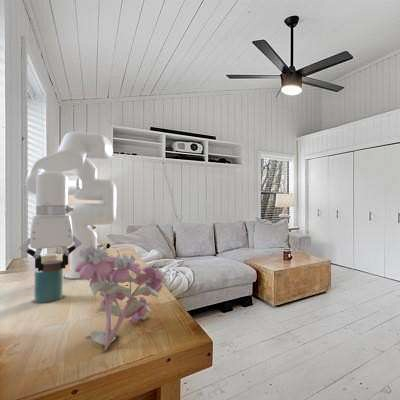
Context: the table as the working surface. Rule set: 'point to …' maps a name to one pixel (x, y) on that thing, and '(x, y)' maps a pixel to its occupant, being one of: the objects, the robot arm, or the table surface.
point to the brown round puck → (51, 266)
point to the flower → (117, 287)
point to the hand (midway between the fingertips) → (52, 268)
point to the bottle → (48, 282)
